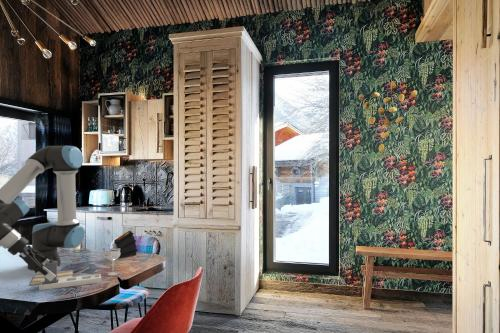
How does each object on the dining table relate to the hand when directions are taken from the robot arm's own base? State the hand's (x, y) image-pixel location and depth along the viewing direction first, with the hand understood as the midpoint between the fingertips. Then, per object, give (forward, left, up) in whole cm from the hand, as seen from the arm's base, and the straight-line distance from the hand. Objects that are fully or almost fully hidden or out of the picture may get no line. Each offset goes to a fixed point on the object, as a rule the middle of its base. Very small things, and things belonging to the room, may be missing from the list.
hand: (54, 274), depth 145 cm
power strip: (0, +7, -6) cm, 9 cm away
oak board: (-13, -1, -6) cm, 15 cm away
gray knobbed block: (0, -1, -5) cm, 5 cm away
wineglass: (-10, +25, -6) cm, 27 cm away
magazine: (-44, +34, -6) cm, 56 cm away
